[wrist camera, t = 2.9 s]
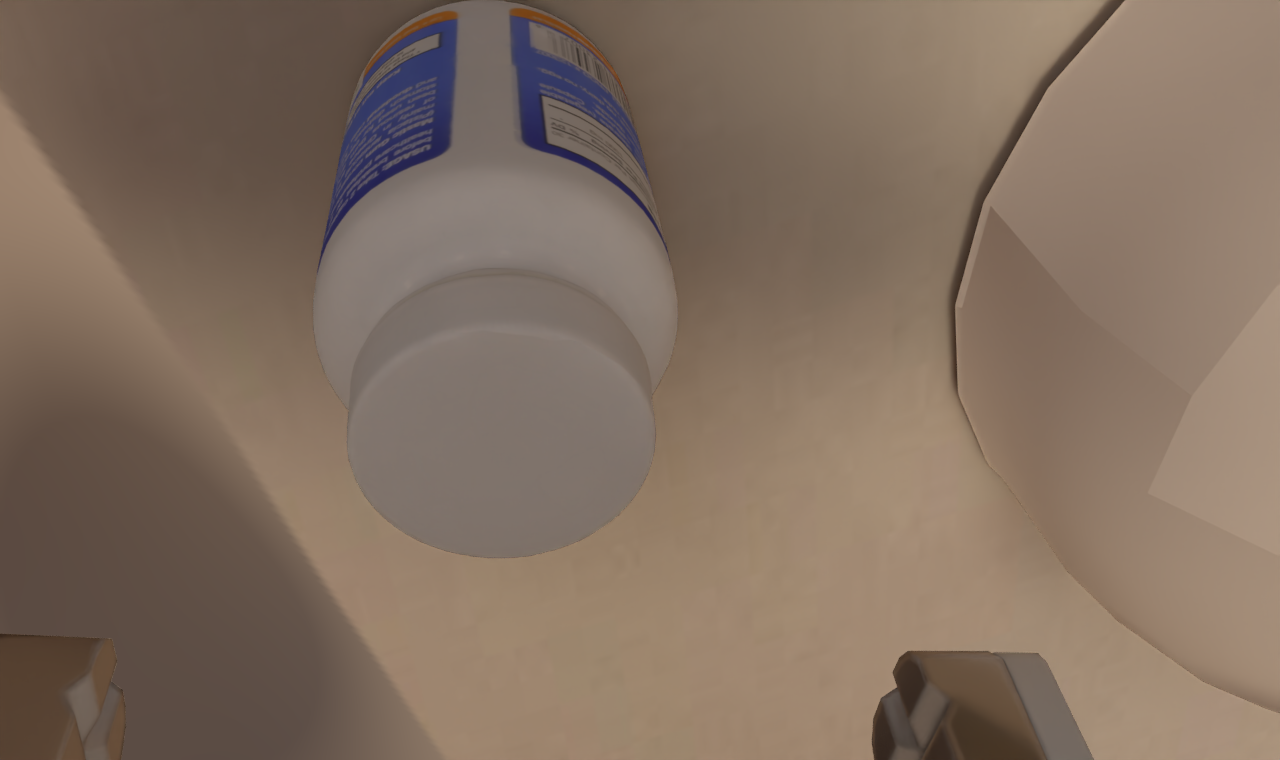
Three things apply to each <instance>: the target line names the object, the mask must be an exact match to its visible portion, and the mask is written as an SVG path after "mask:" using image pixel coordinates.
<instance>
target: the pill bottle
mask: <svg viewBox="0 0 1280 760" xmlns="http://www.w3.org/2000/svg"><path fill="white" fill-rule="evenodd" d="M677 325H678V303H677V293H676V288H675V283H674V278H673V272H672V267H671V263H670V259H669V255H668V251H667V246H666V242H665V240H664V236H663V232H662V227H661V224H660V219H659V215H658V211H657V208H656V204H655V200H654V196H653V192H652V188H651V185H650V181H649V178H648V174H647V170H646V166H645V162H644V158H643V154H642V150H641V146H640V142H639V139H638V135H637V132H636V128H635V125H634V121H633V118H632V114H631V111H630V107H629V104H628V101H627V98H626V95H625V93H624V90H623V88H622V85H621V82H620V80H619V78H618V76H617V74H616V73H615V71H614V70H613V68H612V67H611V65H610V64H609V62H608V61H607V60H606V58H605V57H604V55H603V54H602V53H601V52H600V51H599V50H598V49H597V47H596V46H595V45H594V44H593V43H592V42H591V41H590V40H589V39H588V38H586V37H585V36H584V35H583V34H582V33H581V32H579V31H578V30H577V29H575V28H574V27H573V26H571V25H570V24H568V23H566V22H565V21H563V20H561V19H560V18H557V17H555V16H553V15H551V14H549V13H547V12H544V11H542V10H539V9H536V8H533V7H530V6H526V5H523V4H519V3H513V2H506V1H499V0H469V1H461V2H456V3H451V4H448V5H444V6H440V7H437V8H434V9H432V10H430V11H427V12H425V13H423V14H421V15H419V16H417V17H415V18H413V19H412V20H410V21H409V22H407V23H406V24H404V25H403V26H401V27H400V28H399V29H398V30H397V31H395V32H394V33H393V34H392V35H391V36H390V37H389V38H388V39H387V40H386V41H385V42H384V43H383V44H382V45H381V46H380V47H379V48H378V50H377V51H376V52H375V53H374V55H373V56H372V58H371V59H370V61H369V62H368V64H367V66H366V67H365V69H364V71H363V73H362V75H361V77H360V79H359V82H358V84H357V87H356V90H355V92H354V95H353V98H352V102H351V106H350V109H349V114H348V118H347V123H346V128H345V133H344V138H343V143H342V147H341V153H340V158H339V164H338V169H337V174H336V179H335V184H334V189H333V194H332V200H331V205H330V211H329V216H328V221H327V226H326V231H325V236H324V241H323V246H322V251H321V256H320V261H319V266H318V271H317V277H316V284H315V292H314V299H313V330H314V337H315V343H316V348H317V352H318V356H319V358H320V361H321V364H322V367H323V370H324V372H325V374H326V376H327V378H328V380H329V382H330V384H331V386H332V388H333V390H334V391H335V393H336V394H337V396H338V397H339V398H340V400H341V401H342V403H343V404H344V405H345V407H346V408H347V409H348V410H349V412H348V425H347V448H348V457H349V462H350V465H351V468H352V470H353V473H354V476H355V479H356V481H357V483H358V485H359V487H360V489H361V491H362V492H363V494H364V496H365V497H366V499H367V500H368V501H369V502H370V503H371V505H372V506H373V507H374V508H375V510H377V511H378V512H379V513H380V514H381V515H382V516H383V517H384V518H385V519H386V520H387V521H388V522H390V523H391V524H392V525H393V526H395V527H396V528H398V529H399V530H401V531H402V532H404V533H405V534H407V535H409V536H411V537H412V538H414V539H416V540H418V541H420V542H422V543H425V544H428V545H430V546H433V547H436V548H439V549H441V550H444V551H448V552H452V553H457V554H462V555H469V556H473V557H484V558H515V557H525V556H532V555H536V554H540V553H544V552H548V551H553V550H556V549H559V548H562V547H565V546H568V545H570V544H573V543H575V542H578V541H580V540H582V539H584V538H586V537H588V536H590V535H591V534H593V533H594V532H596V531H597V530H599V529H600V528H602V527H604V526H605V525H607V524H608V523H609V522H611V521H612V520H613V519H614V518H615V517H617V516H618V515H619V514H620V513H621V511H622V510H624V509H625V508H626V507H627V505H628V504H629V503H630V502H631V501H632V500H633V498H634V497H635V495H636V494H637V493H638V491H639V490H640V488H641V486H642V484H643V482H644V480H645V478H646V476H647V475H648V472H649V469H650V467H651V464H652V459H653V455H654V451H655V441H656V428H655V418H654V410H653V403H652V395H653V393H654V392H655V390H656V388H657V386H658V384H659V382H660V380H661V378H662V376H663V374H664V372H665V371H666V369H667V367H668V364H669V362H670V359H671V356H672V352H673V348H674V344H675V340H676V333H677Z"/></svg>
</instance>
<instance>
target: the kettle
mask: <svg viewBox="0 0 1280 760" xmlns="http://www.w3.org/2000/svg"><path fill="white" fill-rule="evenodd" d="M955 318H956V348H957V377H958V395H959V397H960V400H961V402H962V404H963V407H964V409H965V412H966V414H967V416H968V419H969V421H970V423H971V426H972V428H973V431H974V433H975V435H976V438H977V440H978V443H979V445H980V447H981V450H982V452H983V454H984V457H985V459H986V462H987V464H988V465H989V466H990V467H991V468H992V469H993V470H994V471H995V472H996V473H997V474H998V475H999V476H1000V477H1001V478H1002V479H1003V480H1004V481H1005V482H1006V484H1007V485H1008V487H1009V488H1010V490H1011V491H1012V492H1013V494H1014V495H1015V497H1016V498H1017V500H1018V501H1019V503H1020V504H1021V505H1022V507H1023V508H1024V510H1025V511H1026V513H1027V514H1028V516H1029V517H1030V518H1031V520H1032V521H1033V523H1034V524H1035V526H1036V527H1037V529H1038V530H1039V531H1040V533H1041V534H1042V536H1043V537H1044V539H1045V540H1046V542H1047V543H1048V544H1049V546H1050V547H1051V549H1052V550H1053V552H1054V553H1055V555H1056V556H1057V557H1058V559H1059V560H1060V562H1061V563H1062V565H1063V566H1064V568H1065V569H1066V570H1067V572H1068V573H1069V574H1070V575H1071V576H1072V577H1073V578H1074V579H1075V580H1076V581H1077V582H1078V583H1079V584H1080V585H1081V586H1082V587H1084V588H1085V589H1086V590H1087V591H1088V592H1089V593H1090V594H1091V595H1092V596H1093V597H1094V598H1095V599H1096V600H1097V601H1098V602H1099V603H1100V604H1101V605H1102V606H1103V607H1104V608H1105V609H1106V610H1107V611H1108V612H1109V613H1110V614H1111V615H1112V616H1113V617H1114V618H1115V619H1116V620H1117V621H1119V622H1120V623H1121V624H1123V625H1124V626H1126V627H1127V628H1128V629H1130V630H1131V631H1133V632H1134V633H1135V634H1137V635H1138V636H1140V637H1141V638H1142V639H1144V640H1145V641H1147V642H1148V643H1149V644H1151V645H1152V646H1154V647H1155V648H1157V649H1158V650H1159V651H1161V652H1162V653H1164V654H1165V655H1166V656H1168V657H1169V658H1171V659H1172V660H1173V661H1175V662H1176V663H1178V664H1179V665H1180V666H1182V667H1183V668H1185V669H1186V670H1187V671H1189V672H1190V673H1192V674H1193V675H1194V676H1196V677H1197V678H1199V679H1200V680H1202V681H1203V682H1205V683H1207V684H1210V685H1212V686H1214V687H1217V688H1219V689H1221V690H1224V691H1226V692H1228V693H1231V694H1233V695H1235V696H1238V697H1240V698H1242V699H1245V700H1247V701H1249V702H1252V703H1254V704H1256V705H1259V706H1261V707H1263V708H1266V709H1268V710H1271V711H1274V712H1277V713H1280V0H1125V1H1124V2H1123V3H1122V4H1121V6H1120V7H1119V8H1118V9H1117V10H1116V11H1115V12H1114V14H1113V15H1112V16H1111V17H1110V18H1109V19H1108V20H1107V21H1106V23H1105V24H1104V25H1103V26H1102V27H1101V28H1100V29H1099V31H1098V32H1097V33H1096V34H1095V35H1094V36H1093V37H1092V39H1091V40H1090V41H1089V42H1088V43H1087V44H1086V45H1085V46H1084V48H1083V49H1082V50H1081V51H1080V52H1079V53H1078V54H1077V56H1076V57H1075V58H1074V59H1073V60H1072V61H1071V62H1070V64H1069V65H1068V66H1067V67H1066V68H1065V69H1064V70H1063V72H1062V73H1061V74H1060V75H1059V76H1058V77H1057V78H1056V79H1055V81H1054V82H1053V83H1052V84H1051V85H1050V86H1049V87H1048V89H1047V91H1046V93H1045V94H1044V96H1043V98H1042V100H1041V101H1040V103H1039V105H1038V107H1037V108H1036V110H1035V112H1034V114H1033V116H1032V117H1031V119H1030V121H1029V123H1028V124H1027V126H1026V128H1025V130H1024V131H1023V133H1022V135H1021V137H1020V139H1019V140H1018V142H1017V144H1016V146H1015V147H1014V149H1013V151H1012V153H1011V155H1010V156H1009V158H1008V160H1007V162H1006V163H1005V165H1004V167H1003V169H1002V170H1001V172H1000V174H999V176H998V178H997V179H996V181H995V183H994V185H993V186H992V188H991V190H990V192H989V193H988V195H987V197H986V199H985V201H984V203H983V206H982V210H981V214H980V217H979V221H978V224H977V228H976V232H975V235H974V239H973V243H972V246H971V250H970V254H969V257H968V261H967V264H966V268H965V272H964V275H963V279H962V283H961V286H960V290H959V293H958V297H957V301H956V304H955Z"/></svg>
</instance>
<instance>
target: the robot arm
mask: <svg viewBox="0 0 1280 760" xmlns="http://www.w3.org/2000/svg"><path fill="white" fill-rule="evenodd" d="M116 663H117V658H116V654H115V650H114V646H113V641H112V639H107V638H86V637H63V636H40V635H16V634H0V760H121V755H122V749H123V743H124V735H125V728H126V715H125V714H126V713H125V701H124V695H123V690H122V689H120V688H119V687H118V686H117V685H115V684H114V683H113V682H111V679H112V676H113V673H114V669H115V666H116ZM893 675H894V678H895V681H896V684H897V688H895V689H894V690H892V691H891V692H889V693H888V694H886V695H885V696H884V697H882V698H881V700H880V702H879V705H878V708H877V710H876V713H875V715H874V718H873V732H872V747H873V754H874V760H1094V759H1093V756H1092V754H1091V752H1090V750H1089V748H1088V746H1087V744H1086V742H1085V740H1084V738H1083V736H1082V734H1081V732H1080V730H1079V728H1078V726H1077V723H1076V721H1075V719H1074V717H1073V715H1072V713H1071V711H1070V709H1069V707H1068V705H1067V703H1066V701H1065V699H1064V697H1063V695H1062V693H1061V691H1060V688H1059V686H1058V684H1057V682H1056V680H1055V678H1054V676H1053V674H1052V672H1051V670H1050V668H1049V666H1048V664H1047V662H1046V661H1045V660H1044V659H1043V658H1042V657H1041V656H1040V655H1039V654H1038V653H1002V652H995V653H991V652H989V651H907V652H906V653H905V654H903V655H902V656H901V657H899V660H898V662H897V664H896V666H895V668H894V670H893Z"/></svg>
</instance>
